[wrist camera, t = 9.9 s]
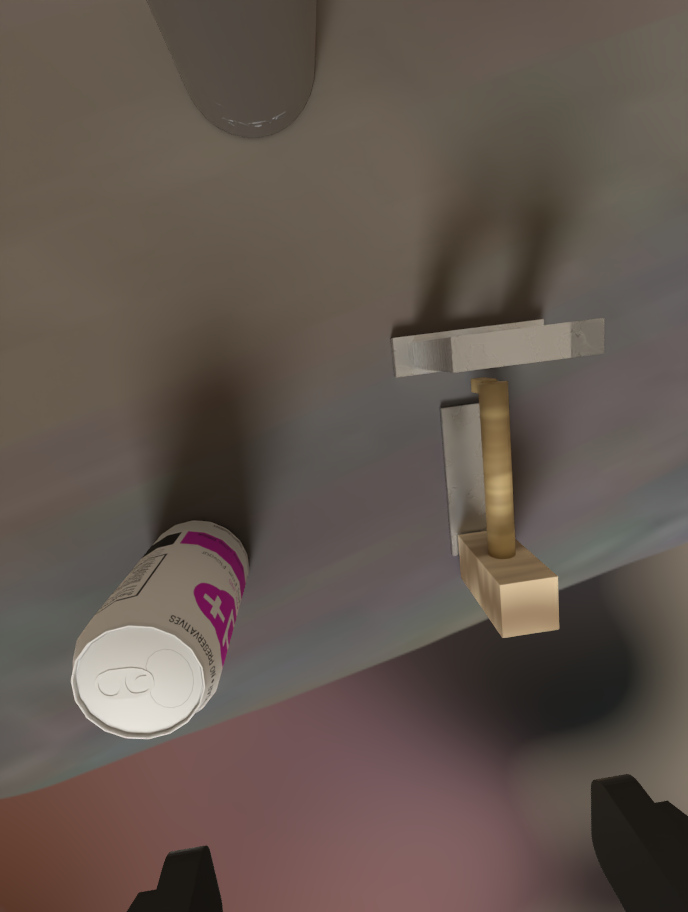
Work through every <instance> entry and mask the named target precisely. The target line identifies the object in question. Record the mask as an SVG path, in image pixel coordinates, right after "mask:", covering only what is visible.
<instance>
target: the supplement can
mask: <svg viewBox="0 0 688 912" xmlns="http://www.w3.org/2000/svg"><path fill="white" fill-rule="evenodd" d="M248 574H249V564H248V555H247V553H246V551H245V549H244V547H243V545H242V543H241V541H240V540H239V539H238V538H237V537H236V536H235V535H233V534H232V533H231V532H230V531H229V530H228V529H227V528H224V527H222V526H220V525H217V524H215V523H212V522H207V521H195V520H192V521H188V522H184V523H180V524H176V525H175V526H173V527H172V528H170V529H169V530H167V531H166V532H164V533H163V534H161V535H160V537H159V538H158V539H157V540H156V542H155V543H154V544H153V545H152V546H151V548H150V549H149V550H148V551H147V552H146V554H145V555H144V556H143V557H142V559H141V560H140V561H139V562H138V563H137V565H136V566H135V567H134V568H133V569H132V571H131V572H130V573H129V574H128V576H127V577H126V578H125V579H124V580H123V582H122V583H121V584H120V585H119V586H118V588H117V589H116V590H115V591H114V593H113V594H112V595H111V596H110V597H109V599H108V600H107V601H106V602H105V603H104V605H103V606H102V607H101V608H100V610H99V611H98V612H97V613H96V614H95V616H94V617H93V618H92V619H91V621H90V622H89V623H88V625H87V626H86V628H85V629H84V631H83V632H82V633H81V635H80V636H79V638H78V639H77V643H76V648H75V652H74V657H73V673H72V677H71V684H72V689H73V694H74V698H75V701H76V703H77V704H78V706H79V707H80V709H81V710H82V712H83V713H84V715H85V716H86V718H87V719H89V720H90V721H92V722H93V723H94V724H96V725H97V726H98V727H100V728H101V729H102V730H104V731H106V732H109V733H112V734H115V735H118V736H121V737H124V738H131V739H151V738H155V737H159V736H163V735H166V734H170V733H172V732H173V731H175V730H176V729H178V728H180V727H181V726H183V725H184V724H186V723H187V722H189V720H190V719H191V718H192V716H193V715H194V714H196V713H197V712H198V711H200V710H201V709H203V707H204V706H205V705H206V703H207V702H208V701H209V700H210V698H211V697H212V696H213V694H214V693H215V692H216V690H217V686H218V683H219V679H220V675H221V672H222V668H223V665H224V661H225V657H226V654H227V650H228V646H229V643H230V639H231V635H232V632H233V628H234V624H235V621H236V617H237V614H238V610H239V606H240V603H241V599H242V595H243V592H244V588H245V584H246V581H247V577H248Z"/></svg>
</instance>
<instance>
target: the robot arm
mask: <svg viewBox="0 0 688 912" xmlns="http://www.w3.org/2000/svg"><path fill="white" fill-rule="evenodd" d="M146 1H147V3H148V5H149V7H150V9H151V12H152V14H153V16H154V18H155V20H156V23H157V25H158V27H159V29H160V32H161V34H162V36H163V38H164V40H165V43H166V45H167V47H168V49H169V51H170V54H171V56H172V59H173V61H174V63H175V65H176V67H177V70H178V72H179V74H180V76H181V78H182V81H183V83H184V85H185V87H186V89H187V91H188V93H189V95H190V97H191V99H192V100H193V102H194V104H195V105H196V107H197V108H198V109H199V110H200V112H201V113H202V114H203V115H204V116H205V117H206V118H207V119H208V120H209V121H210V122H212V123H213V124H214V125H216V126H217V127H218V128H220V129H222V130H224V131H226V132H228V133H230V134H233V135H237V136H241V137H248V138H259V137H264V136H268V135H272V134H274V133H276V132H278V131H280V130H282V129H284V128H286V127H287V126H288V125H289V124H290V123H292V122H293V121H294V120H295V119H296V118H297V116H298V115H299V114H300V113H301V111H302V110H303V109H304V107H305V105H306V103H307V101H308V98H309V96H310V94H311V90H312V86H313V82H314V70H315V39H316V8H317V0H146ZM591 831H592V832H591V834H592V842H593V846H594V850H595V853H596V856H597V859H598V862H599V864H600V866H601V868H602V870H603V873H604V874H605V876H606V878H607V880H608V882H609V883H610V885H611V887H612V888H613V890H614V892H615V894H616V896H617V897H618V899H619V901H620V903H621V904H622V906H623V908H624V910H625V911H626V912H688V816H687V815H685V814H684V813H683V812H682V811H680V810H679V809H678V808H676V807H675V806H674V805H672V804H671V803H670V802H668V801H664V802H658V803H654V802H653V800H652V799H651V798H650V796H649V795H648V794H647V793H646V791H645V790H644V789H643V788H642V786H641V785H640V784H639V783H638V781H637V780H636V779H635V778H634V777H633V776H631V775H629V774H625V775H619V776H613V777H608V778H601V779H596V780H593V781H592V783H591ZM127 912H223V908H222V900H221V895H220V891H219V887H218V883H217V878H216V874H215V870H214V866H213V862H212V857H211V853H210V849H209V847H208V846H200V847H195V848H189V849H184V850H177V851H172V852H169V854H168V855H167V857H166V859H165V862H164V865H163V868H162V872H161V875H160V879H159V883H158V886H157V889H156V890H151V891H145V892H140V893H138V895H137V896H136V898H135V900H134V901H133V903H132V904H131V906H130V908H129V909H128V911H127Z"/></svg>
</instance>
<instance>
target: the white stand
mask: <svg viewBox="0 0 688 912" xmlns="http://www.w3.org/2000/svg"><path fill="white" fill-rule="evenodd" d="M391 350H392V360H393V370H394V377H402V376H410V375H417V374H425V373H433V372H440V371H442V372H451V373H456V372H463V371H471V370H479V369H486V368H494V367H502V366H509V365H517V364H525V363H533V362H540V361H548V360H556V359H563V358H571V357H579V356H587V355H594V354H602V353H604V318H599V319H591V320H583V321H575V322H567V323H559V324H551V325H544V319H541V320H533V321H525V322H517V323H509V324H501V325H493V326H485V327H477V328H469V329H461V330H453V331H445V332H437V333H429V334H421V335H413V336H405V337H397V338H391ZM440 418H441V431H442V444H443V457H444V469H445V482H446V495H447V508H448V520H449V533H450V546H451V554H452V556H457V555H459V543H458V535H462V534H468V533H475V532H482V531H487V524H486V508H485V491H484V474H483V458H482V441H481V424H480V408H479V403H473V404H465V405H458V406H450V407H443V408H440Z"/></svg>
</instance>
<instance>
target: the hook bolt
mask: <svg viewBox="0 0 688 912" xmlns="http://www.w3.org/2000/svg"><path fill="white" fill-rule="evenodd" d="M471 390H472V392H474V393H479V408H480V424H481V441H482V458H483V474H484V491H485V508H486V524H487V531H482V532H475V533H468V534H462V535H458V543H459V556H460V570H461V578H462V580H463V581H464V583H465V584H466V585H467V587H468V588H469V590H470V591H471V593H472V594H473V596H474V597H475V598H476V600H477V601H478V603H479V604H480V606H481V607H482V609H483V610H484V612H485V613H486V614H487V616H488V617H489V619H490V620H491V622H492V623H493V625H494V626H495V627H496V629H497V630H498V632H499V633H500V635H501V636H502V638H507V637H513V636H518V635H526V634H532V633H538V632H544V631H551V630H557V629H559V609H558V608H559V605H558V576H557V575H556V574H554V573H553V572H552V571H551V570H550V569H549V568H548V567H547V566H545V565H544V564H543V563H542V562H541V561H540V560H539V559H537V558H536V557H535V556H534V555H533V554H532V553H531V552H530V551H528V550H527V549H526V548H525V547H524V546H523V545H522V544H520V543H519V542H518V541H517V540H516V539H515V526H514V505H513V483H512V461H511V440H510V418H509V396H508V381H497V379H494V378H485V377H482V378H474V379H471Z"/></svg>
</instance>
